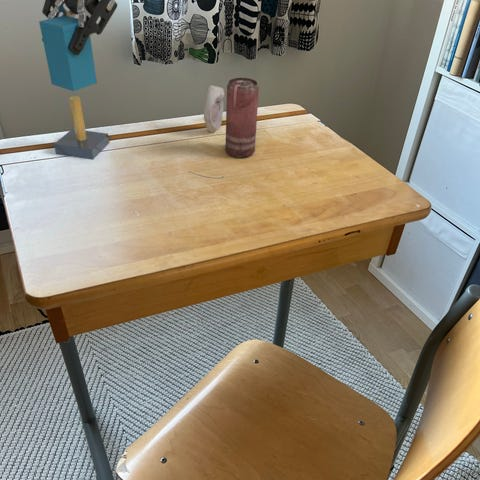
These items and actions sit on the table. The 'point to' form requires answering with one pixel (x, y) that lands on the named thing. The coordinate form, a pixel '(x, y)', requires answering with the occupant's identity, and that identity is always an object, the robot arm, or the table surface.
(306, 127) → the table surface
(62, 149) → the peg stand
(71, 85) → the tall teal pillar
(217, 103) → the fossil
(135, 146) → the table surface
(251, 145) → the can
